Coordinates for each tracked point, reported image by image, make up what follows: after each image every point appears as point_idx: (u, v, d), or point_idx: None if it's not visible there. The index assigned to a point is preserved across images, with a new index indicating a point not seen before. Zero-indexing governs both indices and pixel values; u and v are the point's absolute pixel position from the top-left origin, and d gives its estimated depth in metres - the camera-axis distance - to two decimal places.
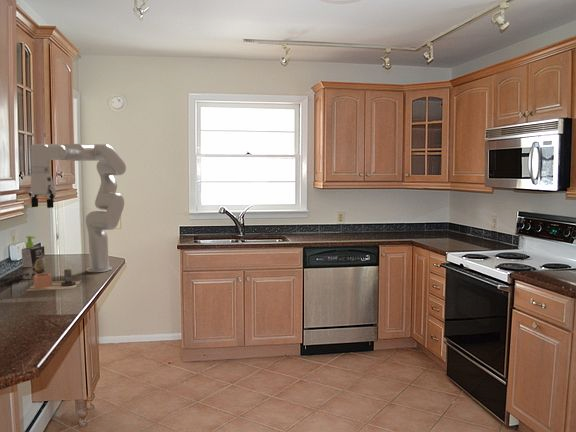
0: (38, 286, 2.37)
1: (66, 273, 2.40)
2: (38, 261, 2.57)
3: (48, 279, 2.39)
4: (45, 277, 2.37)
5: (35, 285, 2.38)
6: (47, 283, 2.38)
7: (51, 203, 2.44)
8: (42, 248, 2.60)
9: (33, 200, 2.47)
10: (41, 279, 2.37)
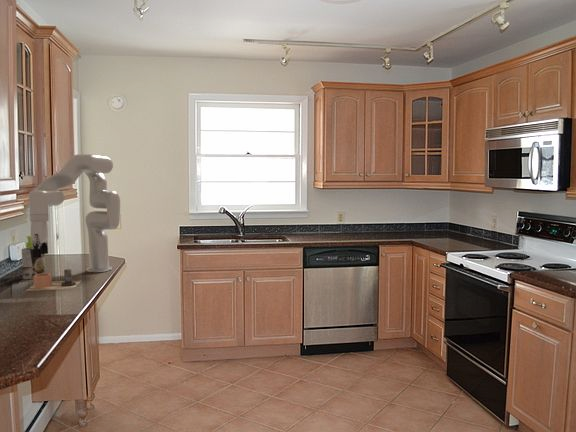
0: (38, 286, 2.37)
1: (66, 273, 2.40)
2: (38, 261, 2.57)
3: (48, 279, 2.39)
4: (45, 277, 2.37)
5: (35, 285, 2.38)
6: (47, 283, 2.38)
7: None
8: None
9: None
10: (41, 279, 2.37)
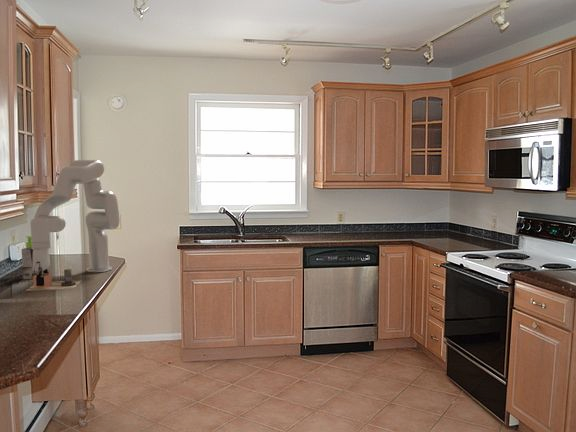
0: (38, 286, 2.37)
1: (66, 273, 2.40)
2: None
3: (48, 279, 2.39)
4: (45, 277, 2.37)
5: (35, 285, 2.38)
6: (47, 283, 2.38)
7: None
8: None
9: None
10: None
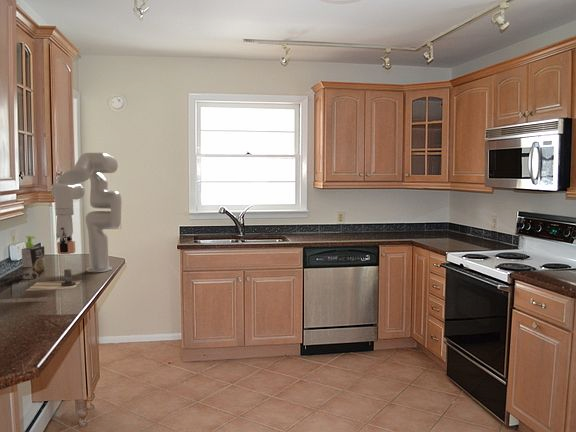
0: (62, 252, 2.37)
1: (66, 273, 2.40)
2: (38, 261, 2.57)
3: (71, 246, 2.39)
4: (69, 244, 2.37)
5: (59, 252, 2.38)
6: (71, 250, 2.38)
7: None
8: (42, 248, 2.60)
9: None
10: None
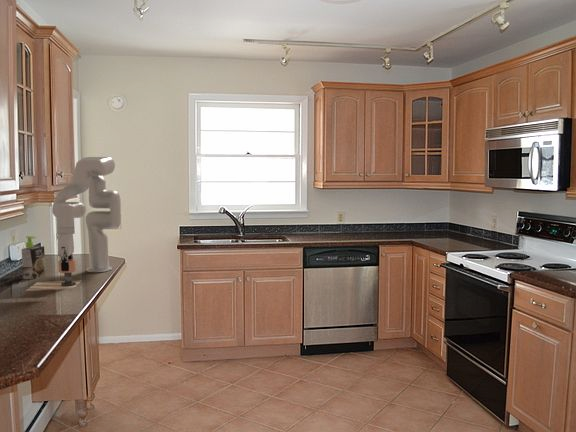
0: (63, 271, 2.38)
1: (66, 273, 2.40)
2: (38, 261, 2.57)
3: (73, 264, 2.39)
4: (70, 262, 2.38)
5: (60, 270, 2.38)
6: (72, 268, 2.39)
7: None
8: (42, 248, 2.60)
9: None
10: None
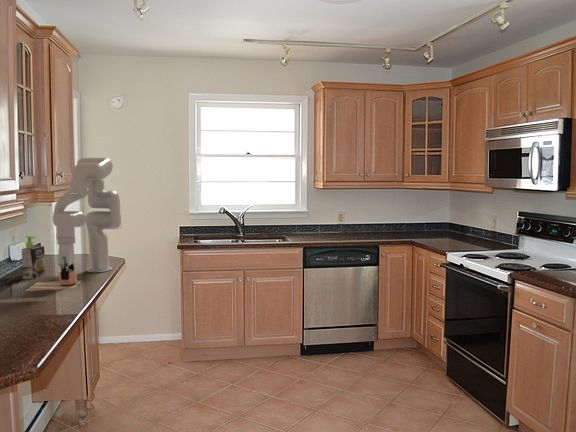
0: (64, 283, 2.38)
1: None
2: (38, 261, 2.57)
3: (73, 276, 2.40)
4: (70, 274, 2.39)
5: (60, 282, 2.39)
6: (72, 280, 2.40)
7: None
8: (42, 248, 2.60)
9: None
10: None
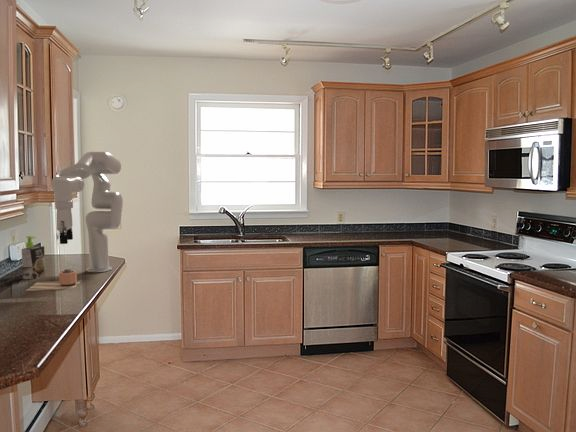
0: (64, 283, 2.38)
1: None
2: (38, 261, 2.57)
3: (73, 276, 2.40)
4: (70, 274, 2.39)
5: (60, 282, 2.39)
6: (72, 280, 2.40)
7: None
8: (42, 248, 2.60)
9: None
10: (67, 276, 2.38)
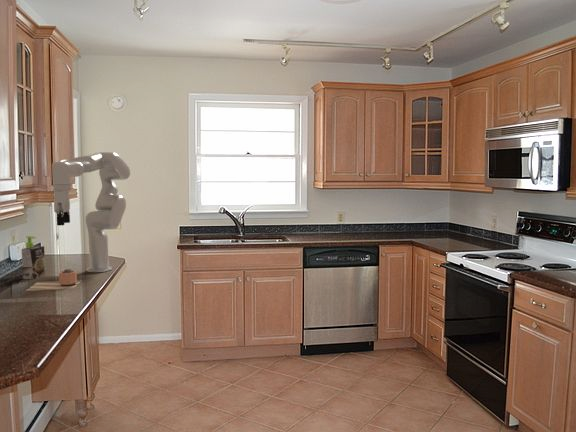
0: (64, 283, 2.38)
1: None
2: (38, 261, 2.57)
3: (73, 276, 2.40)
4: (70, 274, 2.39)
5: (60, 282, 2.39)
6: (72, 280, 2.40)
7: None
8: (42, 248, 2.60)
9: None
10: (67, 276, 2.38)
